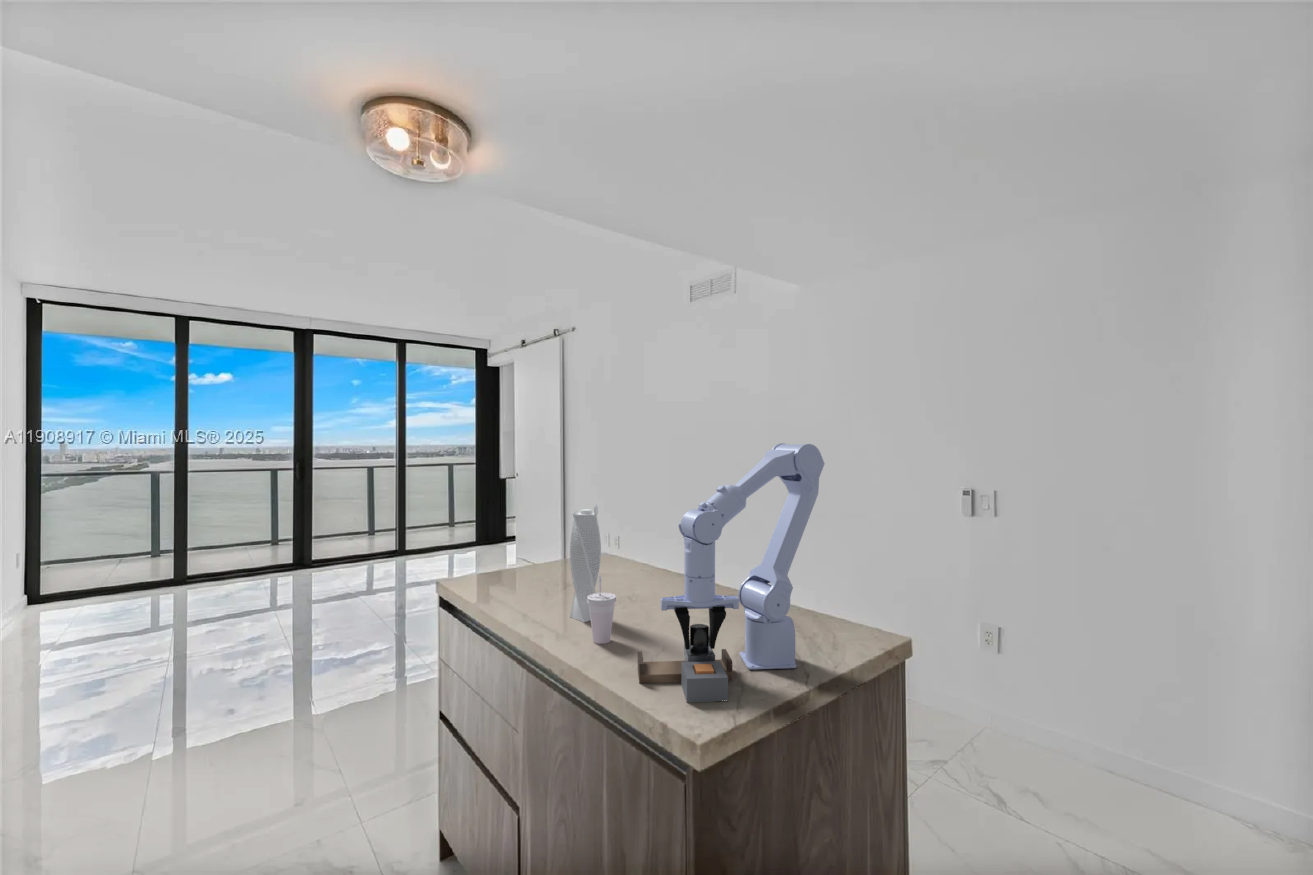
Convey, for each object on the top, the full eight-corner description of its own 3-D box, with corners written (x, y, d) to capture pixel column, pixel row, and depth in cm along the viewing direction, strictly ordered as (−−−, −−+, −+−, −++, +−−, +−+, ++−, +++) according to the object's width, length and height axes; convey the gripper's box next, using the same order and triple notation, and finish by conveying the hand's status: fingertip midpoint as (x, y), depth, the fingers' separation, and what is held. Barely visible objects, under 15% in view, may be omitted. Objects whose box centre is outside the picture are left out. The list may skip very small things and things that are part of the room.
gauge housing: (719, 683, 103) (719, 661, 103) (728, 701, 96) (728, 677, 96) (681, 684, 102) (681, 662, 102) (686, 702, 95) (686, 678, 95)
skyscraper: (608, 617, 140) (608, 503, 140) (584, 625, 134) (584, 506, 134) (587, 611, 145) (587, 500, 145) (563, 617, 140) (564, 503, 140)
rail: (725, 667, 110) (725, 649, 110) (732, 680, 104) (732, 661, 104) (637, 669, 109) (637, 651, 109) (639, 683, 103) (639, 664, 103)
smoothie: (601, 633, 129) (601, 571, 129) (622, 640, 125) (622, 576, 124) (580, 641, 124) (580, 576, 124) (601, 648, 120) (601, 581, 120)
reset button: (710, 684, 101) (711, 663, 101) (714, 691, 98) (714, 670, 98) (694, 684, 101) (694, 664, 101) (696, 692, 98) (696, 671, 98)
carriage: (710, 659, 109) (710, 622, 109) (715, 670, 104) (715, 631, 104) (684, 660, 109) (684, 622, 109) (687, 671, 104) (688, 631, 104)
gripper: (733, 569, 111) (732, 638, 111) (659, 570, 110) (658, 640, 110) (741, 578, 104) (741, 652, 104) (662, 579, 103) (662, 654, 103)
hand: (699, 647), depth 107 cm, fingers open, 4 cm apart
